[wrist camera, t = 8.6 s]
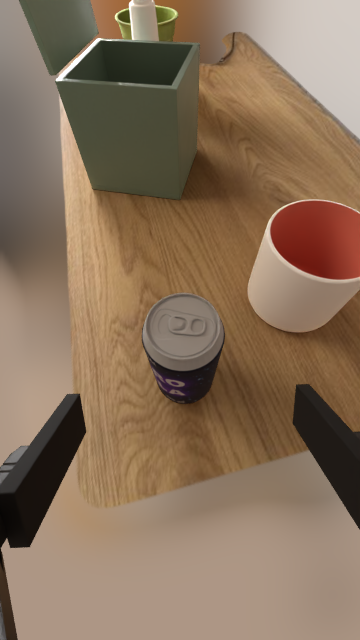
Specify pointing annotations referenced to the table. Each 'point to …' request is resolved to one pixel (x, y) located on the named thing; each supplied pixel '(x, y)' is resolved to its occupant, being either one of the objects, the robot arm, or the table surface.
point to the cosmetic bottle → (143, 20)
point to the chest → (135, 114)
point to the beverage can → (183, 345)
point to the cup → (306, 265)
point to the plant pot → (164, 23)
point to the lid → (60, 29)
